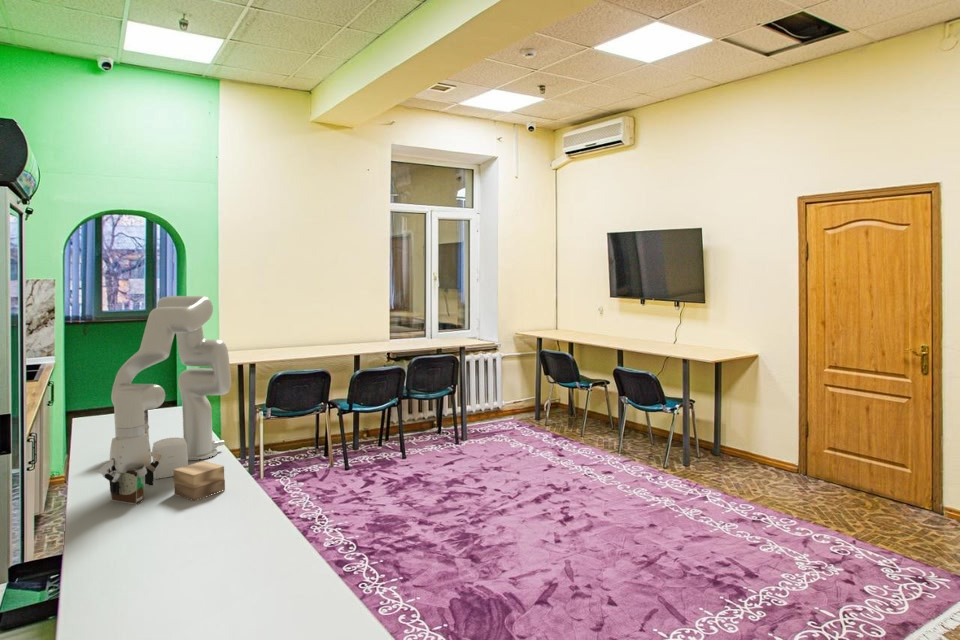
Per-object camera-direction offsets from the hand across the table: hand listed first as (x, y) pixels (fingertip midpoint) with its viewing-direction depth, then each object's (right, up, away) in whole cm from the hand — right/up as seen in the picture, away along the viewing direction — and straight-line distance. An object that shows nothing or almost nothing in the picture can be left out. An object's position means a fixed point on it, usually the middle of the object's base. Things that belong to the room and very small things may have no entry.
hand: (132, 489), depth 182 cm
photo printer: (+1, -2, +21) cm, 21 cm away
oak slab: (+17, +1, +5) cm, 18 cm away
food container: (0, -3, 0) cm, 3 cm away
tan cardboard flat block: (+17, -3, +6) cm, 18 cm away
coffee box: (-24, 0, +44) cm, 50 cm away
